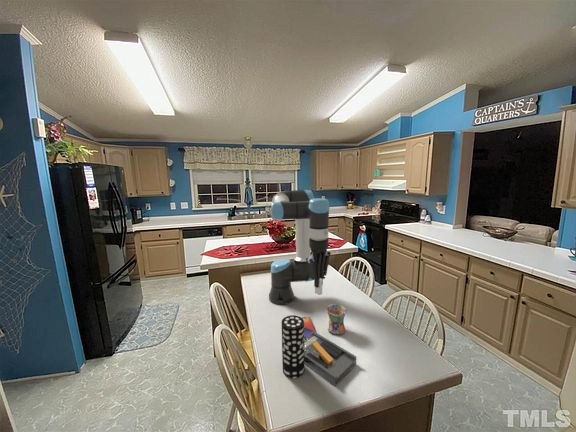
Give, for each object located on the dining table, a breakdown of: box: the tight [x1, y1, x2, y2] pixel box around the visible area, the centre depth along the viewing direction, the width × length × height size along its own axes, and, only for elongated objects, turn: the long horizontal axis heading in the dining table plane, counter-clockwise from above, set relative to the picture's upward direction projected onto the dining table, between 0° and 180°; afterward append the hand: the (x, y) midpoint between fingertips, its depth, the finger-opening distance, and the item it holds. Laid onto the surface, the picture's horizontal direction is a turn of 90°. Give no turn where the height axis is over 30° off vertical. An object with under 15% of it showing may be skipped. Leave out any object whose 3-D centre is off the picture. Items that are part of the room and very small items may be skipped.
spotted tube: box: [281, 314, 305, 379], centre depth 90 cm, size 8×8×20 cm
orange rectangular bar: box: [312, 341, 333, 365], centre depth 94 cm, size 9×2×1 cm, turn 44°
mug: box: [326, 303, 347, 335], centre depth 115 cm, size 12×9×11 cm
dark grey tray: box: [304, 331, 357, 387], centre depth 97 cm, size 22×14×4 cm, turn 44°
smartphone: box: [301, 316, 317, 339], centre depth 117 cm, size 7×15×1 cm, turn 9°
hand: (318, 293), depth 99 cm, fingers closed
